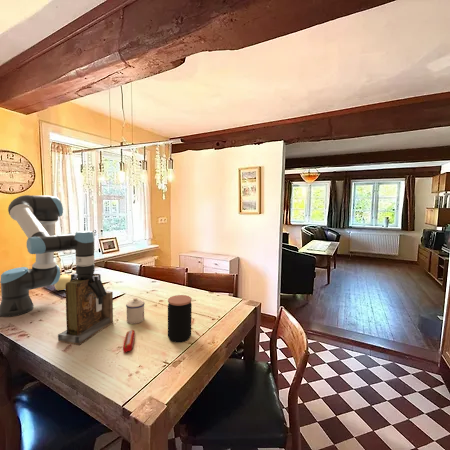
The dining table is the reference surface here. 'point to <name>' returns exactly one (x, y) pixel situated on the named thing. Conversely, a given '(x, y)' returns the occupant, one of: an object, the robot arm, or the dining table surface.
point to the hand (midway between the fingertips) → (86, 309)
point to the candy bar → (129, 341)
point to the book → (80, 307)
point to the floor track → (103, 312)
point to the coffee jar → (179, 318)
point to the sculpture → (62, 282)
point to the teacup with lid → (135, 311)
